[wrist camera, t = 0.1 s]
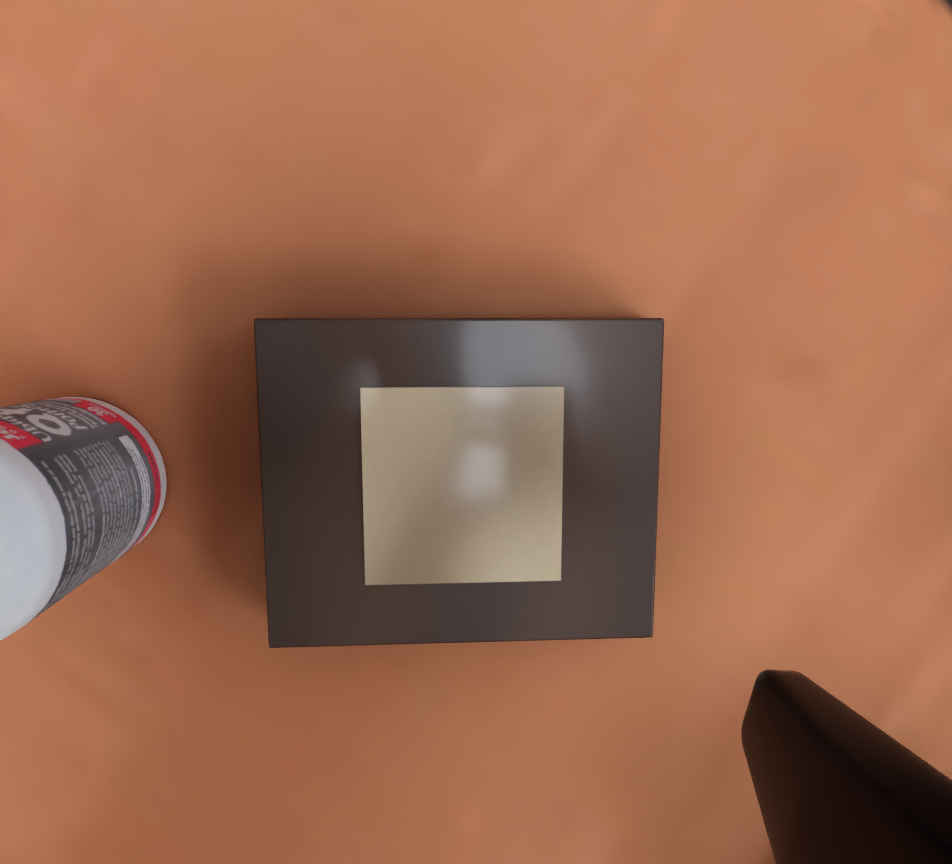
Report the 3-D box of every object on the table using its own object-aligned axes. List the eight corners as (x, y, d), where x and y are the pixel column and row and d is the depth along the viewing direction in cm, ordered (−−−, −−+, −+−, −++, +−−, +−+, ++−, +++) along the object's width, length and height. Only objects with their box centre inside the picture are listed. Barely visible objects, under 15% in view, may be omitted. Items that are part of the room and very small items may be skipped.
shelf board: (282, 622, 24) (267, 650, 22) (269, 319, 22) (252, 318, 20) (635, 613, 24) (654, 639, 22) (645, 319, 23) (666, 317, 21)
